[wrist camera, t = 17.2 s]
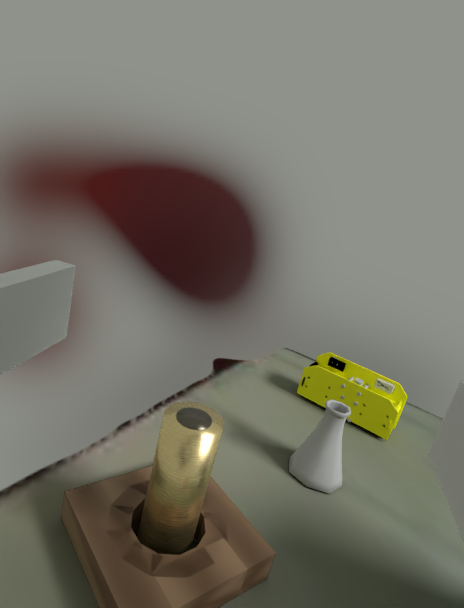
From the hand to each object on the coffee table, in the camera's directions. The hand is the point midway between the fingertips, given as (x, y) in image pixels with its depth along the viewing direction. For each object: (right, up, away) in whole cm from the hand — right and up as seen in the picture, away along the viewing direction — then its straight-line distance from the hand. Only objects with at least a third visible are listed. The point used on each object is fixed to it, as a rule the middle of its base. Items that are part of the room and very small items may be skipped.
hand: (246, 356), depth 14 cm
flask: (+10, -20, +40) cm, 46 cm away
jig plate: (-7, -21, +25) cm, 33 cm away
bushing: (-7, -21, +25) cm, 33 cm away
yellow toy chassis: (+18, -17, +57) cm, 63 cm away
